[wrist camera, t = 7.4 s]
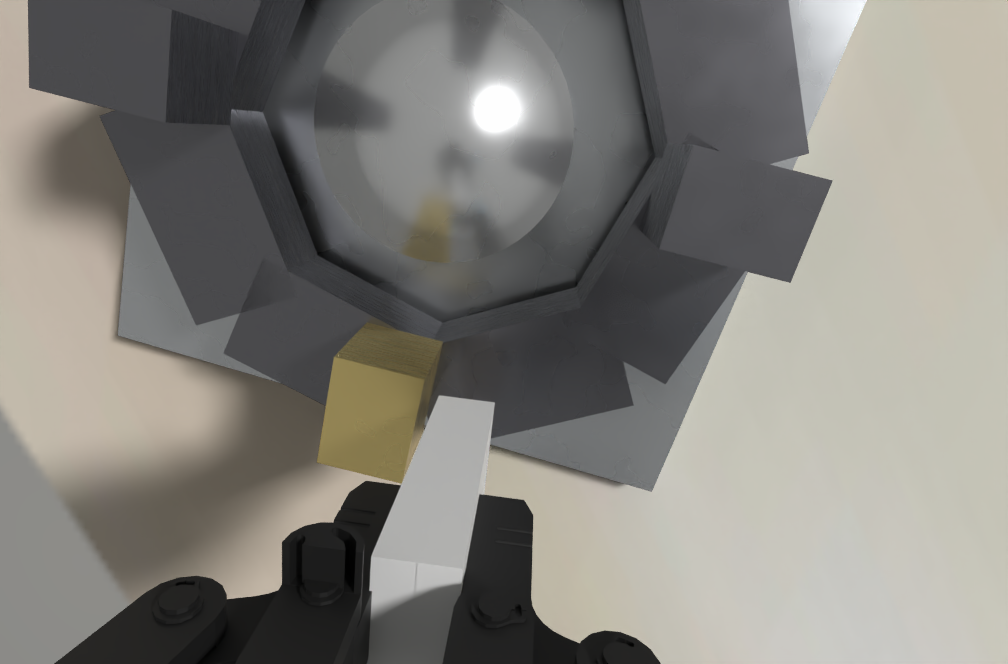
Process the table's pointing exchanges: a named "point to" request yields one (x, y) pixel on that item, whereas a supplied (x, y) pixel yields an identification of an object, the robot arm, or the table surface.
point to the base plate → (473, 178)
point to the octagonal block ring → (388, 320)
